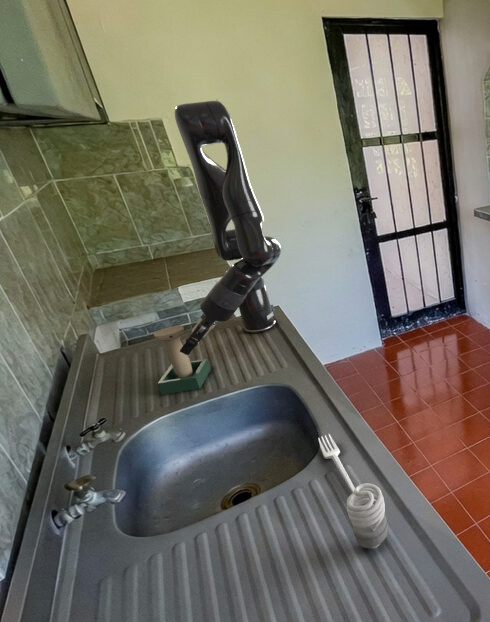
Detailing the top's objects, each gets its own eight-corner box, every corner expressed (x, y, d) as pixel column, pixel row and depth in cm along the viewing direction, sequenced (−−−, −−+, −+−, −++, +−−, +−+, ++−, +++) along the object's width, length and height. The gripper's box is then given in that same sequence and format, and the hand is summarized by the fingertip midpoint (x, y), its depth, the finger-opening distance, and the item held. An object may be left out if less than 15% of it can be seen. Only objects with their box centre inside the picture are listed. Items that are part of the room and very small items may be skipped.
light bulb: (398, 545, 75) (388, 491, 70) (368, 567, 71) (355, 512, 66) (379, 524, 79) (369, 472, 73) (350, 545, 75) (337, 492, 70)
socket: (175, 374, 126) (171, 364, 125) (211, 369, 128) (207, 358, 127) (161, 394, 117) (156, 383, 116) (199, 388, 119) (195, 377, 118)
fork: (350, 504, 83) (348, 497, 82) (317, 445, 98) (315, 438, 97) (367, 496, 84) (365, 488, 84) (332, 439, 99) (331, 432, 98)
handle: (202, 379, 123) (184, 330, 116) (174, 388, 119) (154, 338, 113) (199, 372, 126) (181, 323, 120) (172, 380, 123) (152, 331, 116)
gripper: (218, 281, 121) (184, 326, 124) (201, 301, 109) (164, 350, 111) (244, 297, 125) (211, 340, 127) (231, 318, 112) (194, 365, 114)
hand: (189, 345), depth 119 cm, fingers open, 8 cm apart
